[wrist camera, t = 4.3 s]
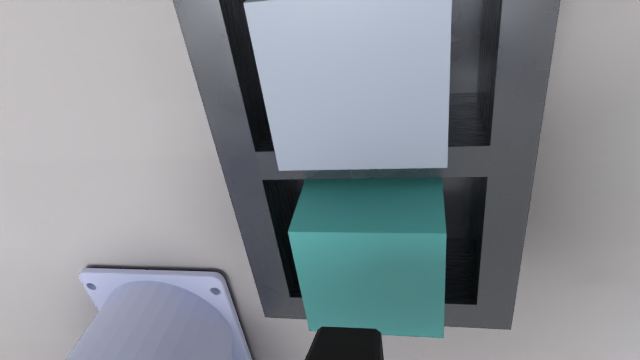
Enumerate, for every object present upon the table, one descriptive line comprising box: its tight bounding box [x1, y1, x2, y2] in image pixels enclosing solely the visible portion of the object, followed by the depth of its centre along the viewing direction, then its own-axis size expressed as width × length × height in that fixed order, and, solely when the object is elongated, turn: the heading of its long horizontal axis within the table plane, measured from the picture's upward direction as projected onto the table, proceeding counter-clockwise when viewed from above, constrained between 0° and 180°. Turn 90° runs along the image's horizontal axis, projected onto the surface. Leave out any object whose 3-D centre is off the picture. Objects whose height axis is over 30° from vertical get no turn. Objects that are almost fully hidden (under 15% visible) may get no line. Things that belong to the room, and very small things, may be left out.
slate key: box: [243, 0, 452, 171], centre depth 12 cm, size 4×4×3 cm
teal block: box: [288, 177, 446, 338], centre depth 15 cm, size 4×4×3 cm
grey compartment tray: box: [173, 0, 560, 330], centre depth 13 cm, size 20×9×4 cm, turn 7°
